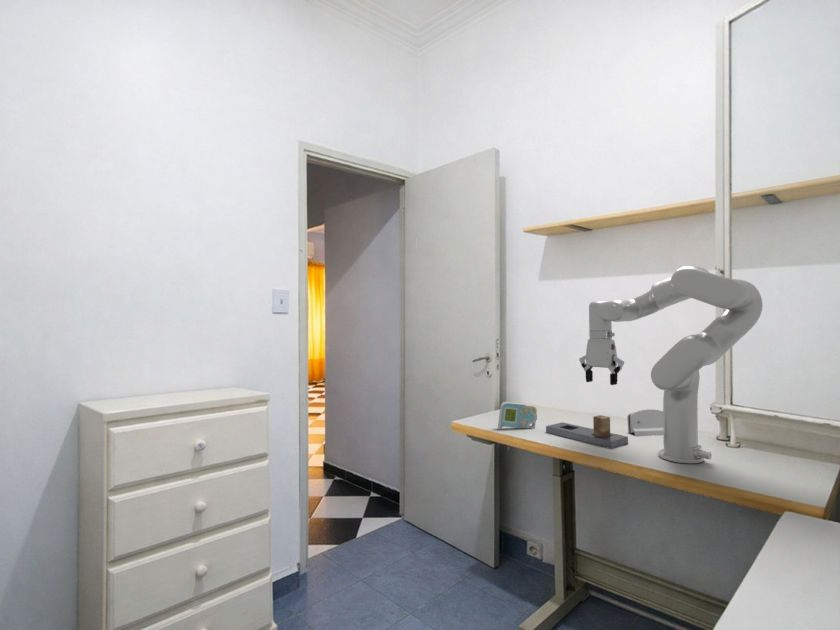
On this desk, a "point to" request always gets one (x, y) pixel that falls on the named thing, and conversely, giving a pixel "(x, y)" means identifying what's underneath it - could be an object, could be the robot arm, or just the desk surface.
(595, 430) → the walnut block
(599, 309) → the robot arm
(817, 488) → the desk surface
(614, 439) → the grey slotted board
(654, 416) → the grey curved-top block
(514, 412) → the handheld gaming console
